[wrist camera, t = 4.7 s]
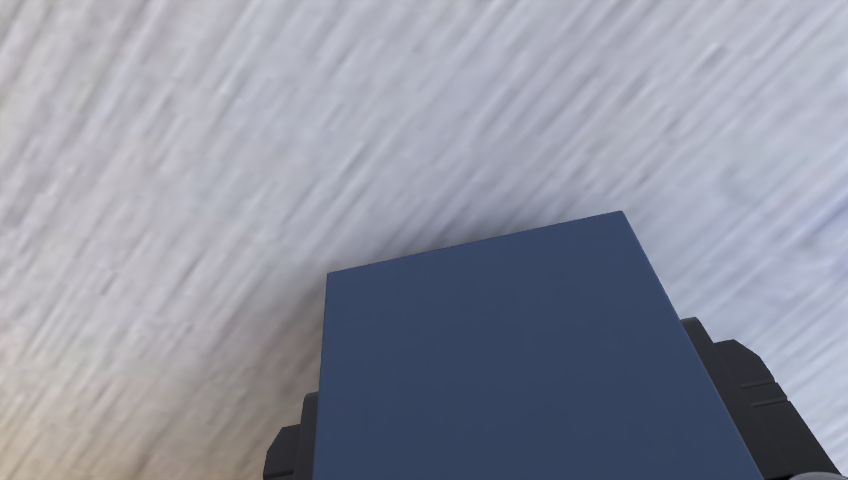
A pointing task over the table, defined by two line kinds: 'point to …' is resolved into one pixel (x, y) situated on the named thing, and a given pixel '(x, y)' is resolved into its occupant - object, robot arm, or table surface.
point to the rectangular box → (518, 367)
